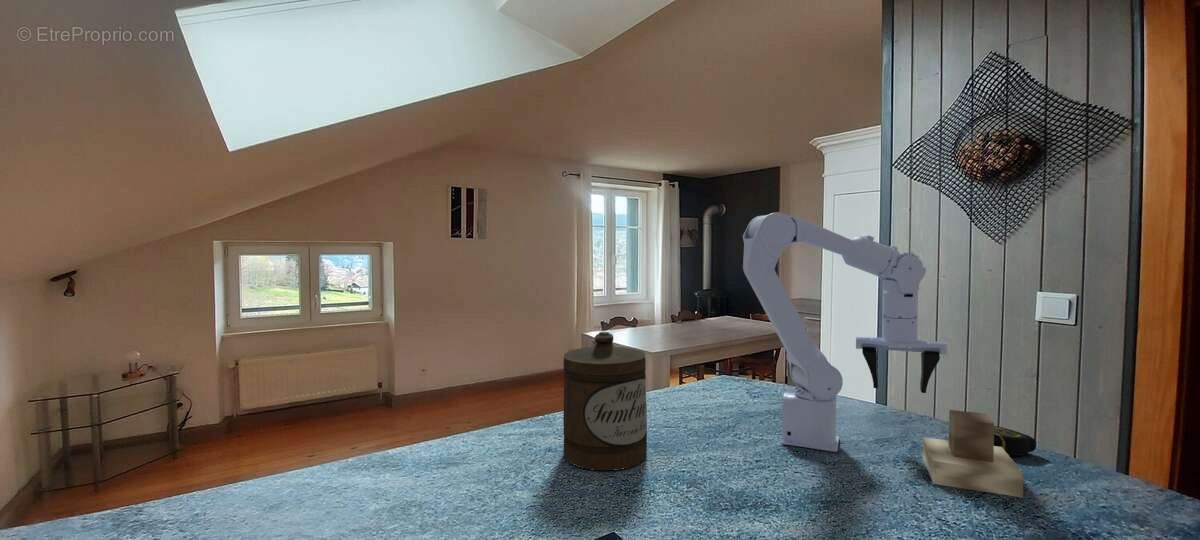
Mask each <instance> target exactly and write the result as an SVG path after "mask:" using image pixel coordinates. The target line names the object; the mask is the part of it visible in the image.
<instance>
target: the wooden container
mask: <svg viewBox="0 0 1200 540" xmlns="http://www.w3.org/2000/svg"><path fill="white" fill-rule="evenodd" d="M593 339H594V341H595V343H596V344H595V345H594V346H591V347H581V348H576V349H571V350H568V351H567V352H566V353H564V355H563V373H564V374H563V421H562V422H563V424H562V426H563V432H562V433H563V456H565V457H564V459H565V458H566V459H567V460H568V461H569V462H571V463H573V464H575V465H577V466H580V467H583V468H588V469H593V470H592V471H594V470H614V469H622V468H627V467H630V468H632V467H631V466H633V467H635V466H634V465H636V466H638V465H639V464H641V463H642V462H643V461H644V460H645V459H646V458H647V454H648V442H647V441H648V438H647V437H648V408H647V406H648V405H647V376H646V375H647V373H646V366H647V364H646V363H647V360H646V353H645V352H644V351H642V350H639V349H634V348H630V347H624V346H623V347H622V346H615V345H614V343H613V342H614V335H613V334H612V333H610V332H608V331H600V332H599V333H597V334H596V335H595V336H594V338H593ZM566 459H565V460H566ZM567 460H566V461H567ZM568 461H567V462H568ZM641 461H642V462H641ZM569 462H568V463H569ZM640 462H641V463H640ZM571 463H570V464H571ZM638 463H639V464H638ZM637 464H638V465H637ZM577 466H576V467H577ZM583 468H582V469H583ZM627 469H628V468H627ZM622 470H623V469H622Z"/></svg>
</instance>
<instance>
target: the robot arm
mask: <svg viewBox="0 0 1200 540" xmlns="http://www.w3.org/2000/svg"><path fill="white" fill-rule="evenodd" d="M742 239H743V245H744V246H743V262H742V270H743V273H744V275H745V277H746V279H747V281H748V282H749V284H750V286H751V288H752V290H753V291H754V293H755V296H756V297H757V299H758V301H759V303H760V305H761V306H762V309H763V311H764V313H765V314H766V315H767V317H768V319H769V322H770V323H771V325H772V327H773V329H774V330H775V333H776V334H777V336H778V338H779V340H780V342H781V344H782V345H783V347H784V349H785V352H786V356H785V357H786V360H787V362H788V364H789V373H790V378H791V379H792V382H794V383H795V387H794V391H793V392H786V391H785V392H784V393H783V396H782V402H781V403H782V405H781V444H782V445H788V446H793V447H799V448H800V447H802V448H808V449H813V450H814V449H815V450H819V451H820V450H821V451H827V452H834V453H837V452H838V450H839V449H838V448H839V442H840V441H839V440H840V436H839V435H838V434H837V395H838V394H839V393H840V392H841V390H842V388H843V384H844V383H843V382H844V381H843V380H844V379H843V376H842V374H841V372H840V371H839V370H838V369H837V368H836V367H835V366H833V365H832V364H831V363H830V362H829V361H828V359H827V357H826V356H825V354H824V353H823V352H822V351H821V350H820V349H819V347H818V346H817V345H816V344H815V342H814V341H813V339H812V337H811V335H810V334H809V332H808V330H807V328H806V326H805V324H804V322H803V320H802V319H801V317H800V315H799V312H798V311H797V309H796V307H795V305H794V303H793V302H792V300H791V298H790V296H789V294H788V293H787V290H786V289H785V286H784V285H783V283H782V281H781V279H780V278H779V275H778V273H777V272H776V269H775V268H776V266H777V263H778V261H779V259H780V256H781V254H783V252H784V251H785V250H786V249H787V248H788V246H790V244H791V243H805V244H807V245H811V246H814V247H817V248H820V249H823V250H826V251H829V252H831V253H835V254H838V255H840V256H841V257H842V259H843V262H844V263H845V264H846V265H847V266H850V267H852V268H855V269H857V270H861V271H863V272H866V273H869V274H871V275H874V276H876V277H878V278H879V280H880V281H882V298H881V299H882V301H881V302H882V305H881V306H882V309H881V310H882V311H881V313H882V316H881V318H882V319H881V337H865V336H864V337H863V336H861V337H859V336H856V337H855V349H857V350H861V352H862V356H863V357H864V360H865V362H866V363H867V366H868V369H869V371H870V375H871V379H872V383H873V385H872V386H873V388H874V389H878V388H879V381H878V350H879V351H881V350H882V351H883V350H884V351H896V352H898V351H899V352H910V353H911V352H912V353H920V359H921V360H920V361H921V362H920V363H921V364H920V365H921V367H920V368H921V371H920V372H921V373H920V382H919V383H920V385H919V387H920V392H921V393H923V394H926V393H927V390H928V389H927V388H928V385H929V384H928V383H929V381H930V378H931V376H932V374H933V371H935V368H936V366H937V365H938V363H939V361H940V360H941V356H940V355H947V353H948V351H947V349H948V348H947V347H948V345H947V343H946V342H944V341H933V340H925V339H918V331H919V330H918V325H919V323H918V321H919V319H918V317H919V315H918V314H919V305H918V304H919V291H920V283H921V282H922V280H923V279H924V278H925V276H926V273H927V267H925V266H924V264H923V261H922V259H920V257H919V256H918V255H917V254H915V253H912V252H900V251H898V247H897V246H894V245H889V246H887V245H885V244H883V243H879V242H877V241H875V237H874V236H872V235H868V234H867V235H863V236H862V235H857V236H855V237H853V238H848V237H846V236H844V235H840V234H839V233H836V232H834V231H832V230H830V229H827V228H824V227H822V226H820V225H817V224H815V223H813V222H811V221H808V220H806V219H803V218H801V217H798V216H794V215H788V214H786V213H784V212H781V211H777V212H776V211H775V212H772V213H769V214H766V215H758V216H756V217H754V218H752V219H751V220H750V222H749V223H748V225H747V227H746V228H745V231H744V233H743V235H742Z"/></svg>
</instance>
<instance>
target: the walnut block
mask: <svg viewBox="0 0 1200 540" xmlns="http://www.w3.org/2000/svg"><path fill="white" fill-rule="evenodd" d="M948 410H949V411H948V416H949V417H948V440H949V447H950V450H951V452H952V454H953V456H954V457H959V458H966V459H973V460H980V461H987V462H993V453H994V426H995V423H994V422H993V420H992V419H991V417H990V416H989V415H988V413H984V412H983V413H981V412H976V411H975V412H974V411H973V412H972V411H964V410H954V409H953V410H952V409H948Z"/></svg>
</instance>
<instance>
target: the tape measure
mask: <svg viewBox="0 0 1200 540" xmlns="http://www.w3.org/2000/svg"><path fill="white" fill-rule="evenodd" d="M994 446H998V447H1002V448H1003V449H1004V450H1005V452H1006V453H1007V454H1008V455H1009V456H1025V455H1027V454H1028V453H1032V452H1034V451H1035V450H1036V449H1037V441H1036V439H1035V438H1034V437H1032V436H1030V435H1028V434H1024V433H1023V432H1019V431H1016V430H1013V429H1009V428H1005V427H1002V426H998V425H994Z"/></svg>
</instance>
